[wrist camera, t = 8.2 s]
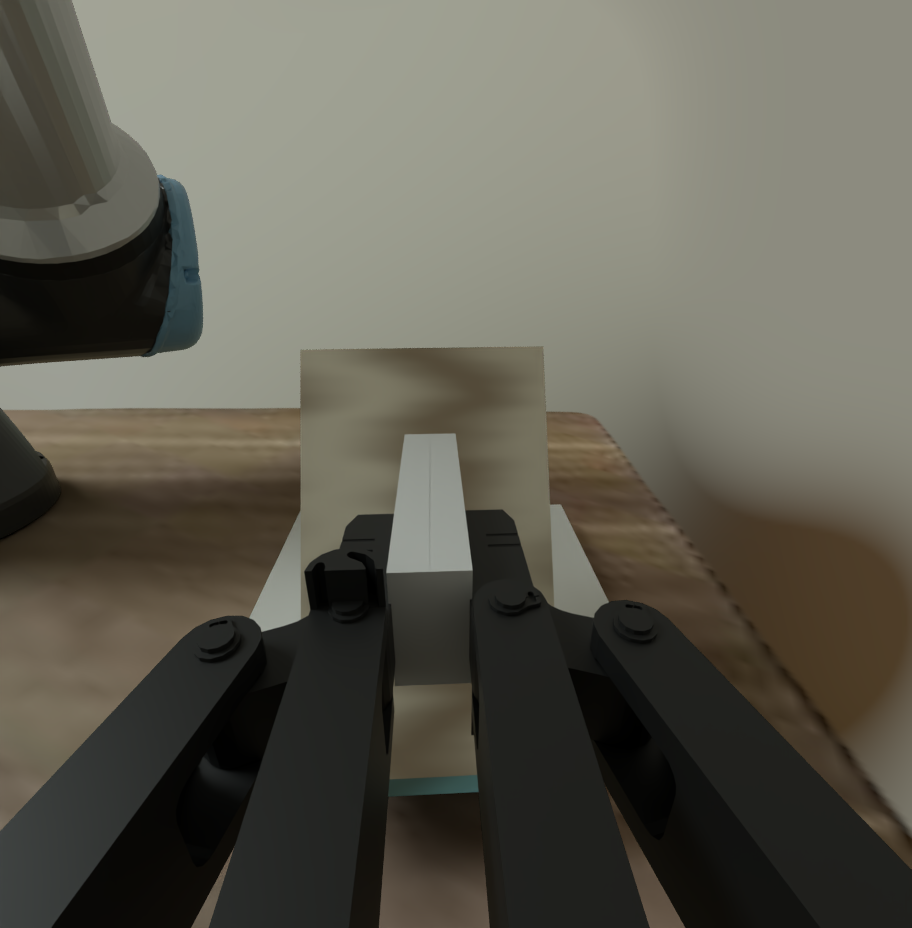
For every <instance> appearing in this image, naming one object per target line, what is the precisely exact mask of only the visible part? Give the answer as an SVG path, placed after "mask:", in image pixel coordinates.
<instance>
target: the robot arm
mask: <svg viewBox="0 0 912 928" xmlns="http://www.w3.org/2000/svg"><path fill="white" fill-rule="evenodd" d="M198 272H199V265H198V251H197V243H196V236H195V230H194V225H193V218H192V213H191V209H190V204H189V199H188V196H187V193H186V191H185V188H184V187H183V186H182V185H181V184H180V182H178V181H176V180H174V179H169V178H166V177H164V176H163V175H157V173H156V171H155V168H154V167H153V164H152V162H151V160H150V159H149V157H148V155H147V153H146V152H145V151H144V150H143V149H142V147H141V146H140V145H139V144H138V143H137V142H136V141H135V140H134V139H133V138H132V137H130V136H129V135H128V134H127V133H126V132H124V131H123V130H121V129H120V128H119V127H117V126H116V125H114V124H112V123H111V120H110V117H109V114H108V111H107V108H106V105H105V102H104V99H103V96H102V93H101V90H100V86H99V83H98V80H97V77H96V74H95V71H94V68H93V65H92V62H91V59H90V56H89V53H88V49H87V46H86V43H85V40H84V37H83V34H82V31H81V28H80V25H79V22H78V19H77V16H76V12H75V10H74V6H73V3H72V0H0V367H1V366H10V365H22V364H32V363H33V364H34V363H47V362H61V361H76V360H89V359H104V358H118V357H132V356H142V357H150V356H153V355H155V354H157V353H162V352H170V351H177V350H184V349H187V348H190V347H192V346H193V345H195V344H196V343H197V341H198V340H199V338H200V336H201V333H202V328H203V302H202V290H201V281H200V277H199V275H198ZM60 492H61V489H60V485H59V483H58V480H57V478H56V475H55V472H54V470H53V467H52V465H51V464H50V462H49V461H48V459H47V458H45V457H44V456H43V455H42V454H41V453H39V452H37V451H35V450H34V449H33V447H32V446H31V444H30V443H29V442H28V441H27V439H26V438H25V437H24V436H23V434H22V433H21V432H20V431H19V429H18V428H17V427H16V426H15V424H14V423H13V422H12V421H11V420H10V419H9V417H8V416H7V415H6V414H5V413H4V412H3V410H2V409H1V408H0V538H3V537H5V536H7V535H9V534H11V533H13V532H14V531H16V530H18V529H20V528H22V527H24V526H25V525H27V524H29V523H30V522H32V521H33V520H35V519H36V518H38V517H39V516H41V515H42V514H43V513H45V512H46V511H47V510H48V509H49V508H50V507H51V506H52V505H53V504H54V503H55V502H56V501H57V499H58V498H59V496H60ZM304 574H305V581H306V587H307V593H308V599H309V605H310V612H309V615H308V616H306V617H304V618H303V619H301V620H299V621H297V622H294V623H291V624H288V625H285V626H282V627H278V628H274V629H270V630H267V631H263V632H261V627H260V626H259V625H258V624H257V623H256V622H255V621H254V620H253V619H250V618H247V617H244V616H224V617H221V618H217V619H213V620H210V621H208V622H206V623H204V624H202V625H200V626H197V627H195V628H194V629H193V630H192V631H190V632H189V633H188V634H187V635H185V636H184V637H183V638H182V639H181V640H180V641H179V642H178V643H177V644H176V645H175V646H174V647H173V648H172V649H171V650H170V652H169V653H168V654H167V655H166V656H165V657H164V658H163V659H162V660H161V661H160V662H159V663H158V664H157V665H156V666H155V667H154V669H153V670H152V671H151V672H150V673H149V674H148V675H147V676H146V677H145V678H144V679H143V680H142V681H141V682H140V683H139V684H138V686H137V687H136V688H135V689H134V690H133V691H132V692H131V693H130V694H129V695H128V696H127V697H126V698H125V699H124V700H123V701H122V703H121V704H120V705H119V706H118V707H117V708H116V709H115V710H114V711H113V712H112V713H111V714H110V715H109V716H108V717H107V718H106V719H105V721H104V722H103V723H102V724H101V725H100V726H99V727H98V728H97V729H96V730H95V731H94V732H93V733H92V734H91V735H90V736H89V738H88V739H87V740H86V741H85V742H84V743H83V744H82V745H81V746H80V747H79V748H78V749H77V750H76V751H75V752H74V753H73V755H72V756H71V757H70V758H69V759H68V760H67V761H66V762H65V763H64V764H63V765H62V766H61V767H60V768H59V769H58V770H57V772H56V773H55V774H54V775H53V776H52V777H51V778H50V779H49V780H48V781H47V782H46V783H45V784H44V785H43V786H42V787H41V789H40V790H39V791H38V792H37V793H36V794H35V795H34V796H33V797H32V798H31V799H30V800H29V801H28V802H27V803H26V804H25V806H24V807H23V808H22V809H21V810H20V811H19V812H18V813H17V814H16V815H15V816H14V817H13V818H12V819H11V820H10V821H9V823H8V824H7V825H6V826H5V827H4V828H3V829H2V830H1V831H0V928H191V927H192V925H193V923H194V921H195V919H196V917H197V915H198V914H199V912H200V910H201V908H202V906H203V904H204V902H205V900H206V899H207V897H208V895H209V893H210V891H211V889H212V887H213V885H214V884H215V882H216V880H217V878H218V876H219V874H220V872H221V870H222V869H223V867H224V865H225V863H226V861H227V859H228V857H229V856H230V854H231V852H232V850H233V848H234V850H233V854H232V857H231V860H230V863H229V866H228V869H227V872H226V875H225V879H224V882H223V885H222V888H221V891H220V894H219V897H218V901H217V904H216V907H215V910H214V913H213V916H212V919H211V922H210V926H209V928H379V916H380V902H381V888H382V875H383V861H384V847H385V834H386V820H387V806H388V793H389V779H390V766H391V752H392V738H393V725H394V699H393V685H394V680H395V686H411V685H436V684H460V683H472V712H471V735H474V743H475V755H476V767H477V779H478V791H479V803H480V815H481V827H482V839H483V851H484V863H485V875H486V887H487V899H488V911H489V923H490V928H650V927H649V924H648V921H647V918H646V915H645V911H644V908H643V905H642V902H641V899H640V896H639V892H638V889H637V886H636V883H635V880H634V876H633V873H632V870H631V867H630V864H629V861H628V857H627V854H626V851H625V848H624V845H623V841H622V838H621V835H620V832H619V829H618V826H617V822H616V819H615V816H614V813H613V810H612V807H611V803H610V800H609V797H608V794H607V791H606V787H607V789H608V790H609V792H610V794H611V796H612V798H613V799H614V801H615V803H616V805H617V806H618V808H619V810H620V812H621V814H622V815H623V817H624V819H625V821H626V823H627V824H628V826H629V828H630V830H631V831H632V833H633V835H634V837H635V839H636V840H637V842H638V844H639V846H640V848H641V849H642V851H643V853H644V855H645V856H646V858H647V860H648V862H649V864H650V865H651V867H652V869H653V871H654V873H655V874H656V876H657V878H658V880H659V881H660V883H661V885H662V887H663V889H664V890H665V892H666V894H667V896H668V897H669V899H670V901H671V903H672V905H673V906H674V908H675V910H676V912H677V914H678V915H679V917H680V919H681V921H682V922H683V924H684V926H685V928H912V870H911V869H910V868H909V867H908V866H907V865H906V864H905V863H904V862H903V861H902V860H901V858H900V857H899V856H898V855H897V854H896V853H895V852H894V851H893V850H892V849H891V848H890V847H889V846H888V845H887V844H886V843H885V842H884V841H883V840H882V839H881V838H880V837H879V836H878V835H877V834H876V833H875V832H874V831H873V830H872V829H871V828H870V827H869V825H868V824H867V823H866V822H865V821H864V820H863V819H862V818H861V817H860V816H859V815H858V814H857V813H856V812H855V811H854V810H853V809H852V808H851V807H850V806H849V805H848V804H847V803H846V802H845V801H844V800H843V799H842V798H841V797H840V796H839V795H838V793H837V792H836V791H835V790H834V789H833V788H832V787H831V786H830V785H829V784H828V783H827V782H826V781H825V780H824V779H823V778H822V777H821V776H820V775H819V774H818V773H817V772H816V771H815V770H814V769H813V768H812V767H811V766H810V765H809V764H808V763H807V761H806V760H805V759H804V758H803V757H802V756H801V755H800V754H799V753H798V752H797V751H796V750H795V749H794V748H793V747H792V746H791V745H790V744H789V743H788V742H787V741H786V740H785V739H784V738H783V737H782V736H781V735H780V734H779V733H778V732H777V731H776V730H775V728H774V727H773V726H772V725H771V724H770V723H769V722H768V721H767V720H766V719H765V718H764V717H763V716H762V715H761V714H760V713H759V712H758V711H757V710H756V709H755V708H754V707H753V706H752V705H751V704H750V703H749V702H748V701H747V700H746V699H745V698H744V696H743V695H742V694H741V693H740V692H739V691H738V690H737V689H736V688H735V687H734V686H733V685H732V684H731V683H730V682H729V681H728V680H727V679H726V678H725V677H724V676H723V675H722V674H721V673H720V672H719V671H718V670H717V669H716V668H715V667H714V666H713V665H712V663H711V662H710V661H709V660H708V659H707V658H706V657H705V656H704V655H703V654H702V653H701V652H700V651H699V650H698V649H697V648H696V647H695V646H694V645H693V644H692V643H691V642H690V641H689V640H688V639H687V638H686V637H685V636H684V635H683V634H682V633H681V631H680V630H679V629H678V628H677V627H676V626H675V625H674V624H673V623H672V622H671V621H670V620H669V619H668V618H667V617H665V616H664V615H663V614H661V613H660V612H659V611H657V610H656V609H654V608H652V607H649V606H647V605H645V604H643V603H639V602H633V601H628V600H620V601H611V602H609V603H606V604H604V605H601V606H600V608H599V609H598V610H597V611H596V612H595V614H594V618H592V617H587V616H583V615H578V614H573V613H569V612H566V611H562V610H560V609H557V608H555V607H553V606H551V605H550V604H548V603H547V601H546V599H545V597H544V596H543V594H542V592H541V591H539V590H538V589H537V588H535V587H534V586H533V583H532V579H531V576H530V572H529V569H528V566H527V562H526V559H525V555H524V552H523V549H522V546H521V542H520V538H519V536H518V532H517V528H516V525H515V521H514V520H513V519H512V518H511V517H510V516H509V515H508V514H507V513H506V512H505V511H504V510H503V509H497V510H465V506H464V498H463V490H462V482H461V474H460V466H459V458H458V450H457V442H456V434H455V433H452V434H405V435H404V443H403V450H402V458H401V466H400V473H399V481H398V488H397V496H396V503H395V511H394V514H364V515H357V516H356V517H355V518H354V519H353V520H352V521H351V522H350V523H349V524H348V525H347V526H346V528H345V531H344V535H343V538H342V542H341V545H340V548H339V549H335V550H332V551H330V552H327V553H324V554H322V555H320V556H319V557H317V558H316V559H314V560H313V561H311V562H310V563H309V565H308V566H307V568H306V569H305V571H304ZM604 783H605V784H604ZM605 785H606V787H605ZM234 846H235V847H234Z"/></svg>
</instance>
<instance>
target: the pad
mask: <svg viewBox="0 0 912 928" xmlns="http://www.w3.org/2000/svg"><path fill="white" fill-rule="evenodd" d="M550 517H551V540H552V563H553V586H554V607H555V608H557V609H560V610H562V611H566V612H569V613H573V614H578V615H583V616H587V617H592V618H594V614H595V612H596V611H597V610H598V609H599V608H600V606H601V605H604V604H606V603H609V601H608V599H607V597H606V595H605V593H604V591H603V589H602V587H601V585H600V583H599V581H598V579H597V577H596V575H595V573H594V571H593V569H592V567H591V565H590V563H589V561H588V559H587V557H586V555H585V553H584V551H583V549H582V546H581V544H580V542H579V540H578V538H577V536H576V534H575V532H574V530H573V528H572V526H571V524H570V522H569V520H568V518H567V516H566V514H565V512H564V510H563V508H562V506H561V505H550ZM250 619H253V620H254V621H255V622H256V623H257V624H258V625H259V626H260V627H261V632H263V631H267V630H270V629H274V628H278V627H282V626H285V625H288V624H291V623H294V622H297V621H299V620H301V512H299V515H298V517H297V519H296V521H295V523H294V525H293V527H292V529H291V531H290V533H289V536H288V538H287V540H286V542H285V544H284V546H283V548H282V550H281V552H280V555H279V557H278V559H277V561H276V563H275V565H274V567H273V569H272V571H271V573H270V576H269V578H268V580H267V582H266V584H265V586H264V588H263V590H262V592H261V595H260V597H259V599H258V601H257V603H256V605H255V607H254V609H253V611H252V614H251V616H250Z"/></svg>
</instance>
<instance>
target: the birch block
mask: <svg viewBox="0 0 912 928" xmlns="http://www.w3.org/2000/svg"><path fill="white" fill-rule="evenodd" d="M543 356H544V355H543V347H475V348H474V347H473V348H402V349H400V348H398V349H325V350H301V619H303V618H304V617H306V616H308V615H309V612H310V605H309V599H308V593H307V587H306V581H305V574H304V571H305V569H306V568H307V566H308V565H309V563H310V562H311V561H313V560H314V559H316V558H317V557H319V556H320V555H322V554H324V553H327V552H330V551H332V550H335V549H339V548H340V545H341V542H342V538H343V535H344V531H345V528H346V526H347V525H348V524H349V523H350V522H351V521H352V520H353V519H354V518H355V517H356V516H357V515H364V514H394V511H395V503H396V496H397V488H398V481H399V473H400V466H401V458H402V450H403V443H404V435H405V434H452V433H455V434H456V442H457V450H458V458H459V466H460V474H461V482H462V490H463V498H464V506H465V510H497V509H503V510H504V511H505V512H506V513H507V514H508V515H509V516H510V517H511V518H512V519H513V520H514V521H515V525H516V528H517V532H518V536H519V538H520V542H521V546H522V549H523V552H524V555H525V559H526V562H527V566H528V569H529V572H530V576H531V579H532V583H533V586H534V587H535V588H537V589H538V590H539V591H541V592H542V594H543V596H544V597H545V599H546V601H547V603H548V604H550V605H551V606H553V607H554V586H553V563H552V540H551V517H550V494H549V470H548V447H547V424H546V404H545V403H546V401H545V380H544V379H545V378H544V357H543ZM393 699H394V725H393V738H392V752H391V766H390V779H389V793H388V797H391V796H411V795H430V794H449V793H468V792H479V791H478V779H477V767H476V755H475V743H474V735H471V712H472V683H460V684H436V685H411V686H395V680H394V685H393Z"/></svg>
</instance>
